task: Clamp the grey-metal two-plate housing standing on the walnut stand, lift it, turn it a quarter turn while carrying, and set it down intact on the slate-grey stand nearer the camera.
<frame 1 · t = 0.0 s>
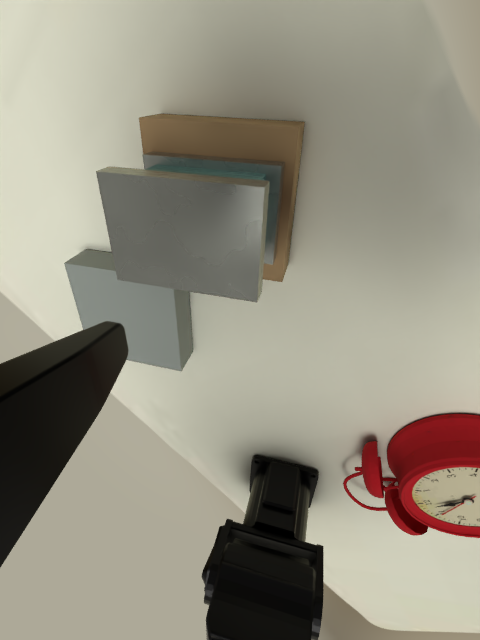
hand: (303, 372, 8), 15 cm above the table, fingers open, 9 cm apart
housing: (216, 206, 19), point 2 cm above the table, touching stand a
alarm clock: (433, 456, 29), on the table
stand a: (229, 194, 21), on the table
stand b: (142, 303, 27), on the table
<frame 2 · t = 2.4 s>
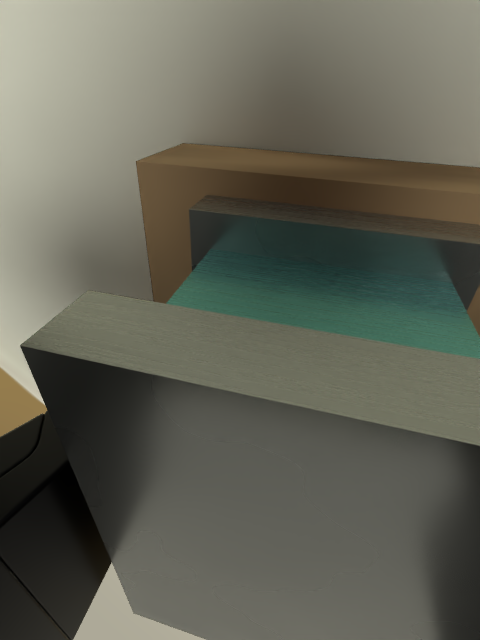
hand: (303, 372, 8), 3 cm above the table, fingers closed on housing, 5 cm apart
housing: (306, 351, 9), point 2 cm above the table, touching gripper, stand a
stand a: (314, 299, 11), on the table
when the fingers open (4 cm above the table, at t = 6.7 s): housing drops 1 cm, resting on stand b.
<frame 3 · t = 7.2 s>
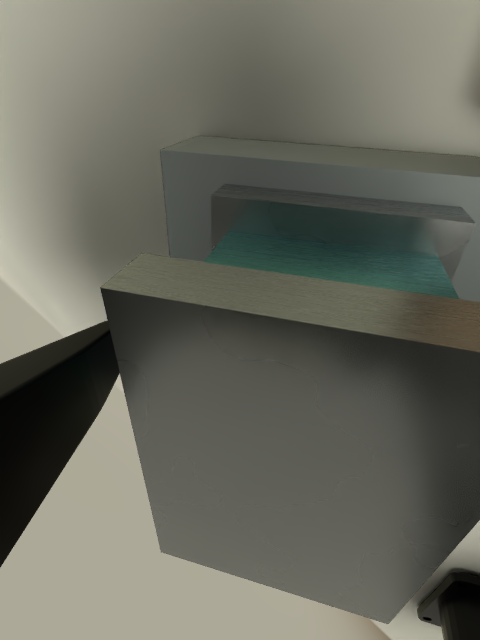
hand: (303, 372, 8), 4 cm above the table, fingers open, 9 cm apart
housing: (311, 325, 10), point 2 cm above the table, touching stand b
stand b: (317, 280, 11), on the table
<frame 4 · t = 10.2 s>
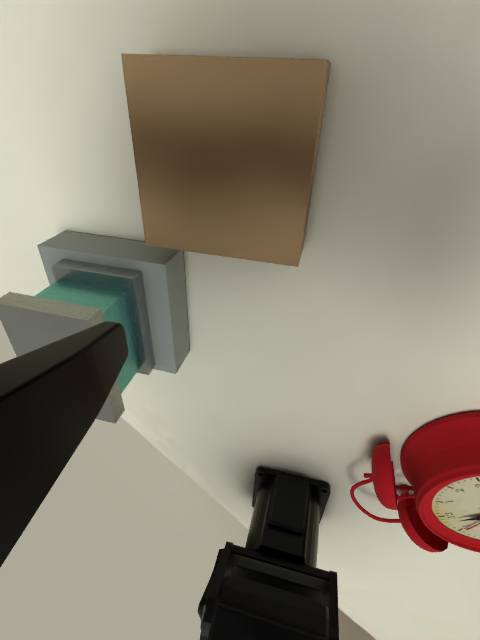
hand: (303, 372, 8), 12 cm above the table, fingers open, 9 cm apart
housing: (112, 315, 22), point 2 cm above the table, touching stand b
alarm clock: (455, 461, 25), on the table
stand a: (233, 160, 17), on the table
stand b: (131, 294, 24), on the table
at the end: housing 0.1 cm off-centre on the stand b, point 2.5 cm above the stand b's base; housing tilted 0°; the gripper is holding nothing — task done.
